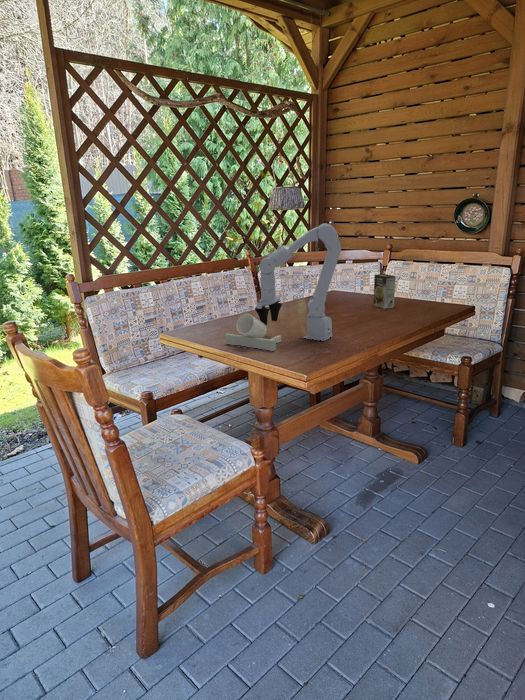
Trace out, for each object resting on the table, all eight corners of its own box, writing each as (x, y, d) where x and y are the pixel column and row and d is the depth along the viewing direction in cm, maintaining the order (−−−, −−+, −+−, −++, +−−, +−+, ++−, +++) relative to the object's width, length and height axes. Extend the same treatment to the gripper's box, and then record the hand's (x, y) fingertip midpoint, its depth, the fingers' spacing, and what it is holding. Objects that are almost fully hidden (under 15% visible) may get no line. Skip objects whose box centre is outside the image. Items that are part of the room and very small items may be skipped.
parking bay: (291, 343, 182) (290, 333, 181) (273, 351, 172) (273, 341, 171) (244, 336, 194) (243, 327, 192) (225, 344, 184) (225, 334, 182)
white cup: (258, 344, 181) (243, 338, 173) (247, 331, 185) (232, 324, 177) (271, 330, 179) (257, 323, 171) (260, 317, 184) (246, 309, 175)
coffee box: (372, 306, 243) (373, 274, 239) (382, 304, 246) (384, 273, 241) (384, 309, 235) (385, 276, 231) (394, 307, 238) (396, 275, 233)
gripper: (269, 285, 192) (270, 318, 195) (249, 291, 180) (250, 326, 184) (284, 286, 188) (285, 319, 192) (264, 292, 176) (266, 327, 180)
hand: (269, 323), depth 188 cm, fingers open, 7 cm apart
